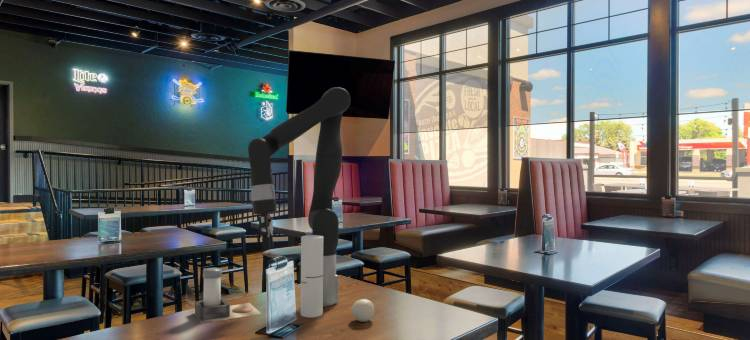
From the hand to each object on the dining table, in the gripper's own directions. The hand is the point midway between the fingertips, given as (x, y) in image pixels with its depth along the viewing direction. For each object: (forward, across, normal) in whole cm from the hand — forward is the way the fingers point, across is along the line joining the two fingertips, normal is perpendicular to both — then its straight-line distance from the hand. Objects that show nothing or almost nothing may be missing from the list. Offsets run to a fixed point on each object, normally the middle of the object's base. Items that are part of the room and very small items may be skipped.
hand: (268, 248), depth 150 cm
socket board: (+20, -1, +15) cm, 24 cm away
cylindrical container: (+23, 0, -12) cm, 25 cm away
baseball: (+26, -8, -27) cm, 38 cm away
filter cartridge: (+18, -4, +18) cm, 26 cm away
